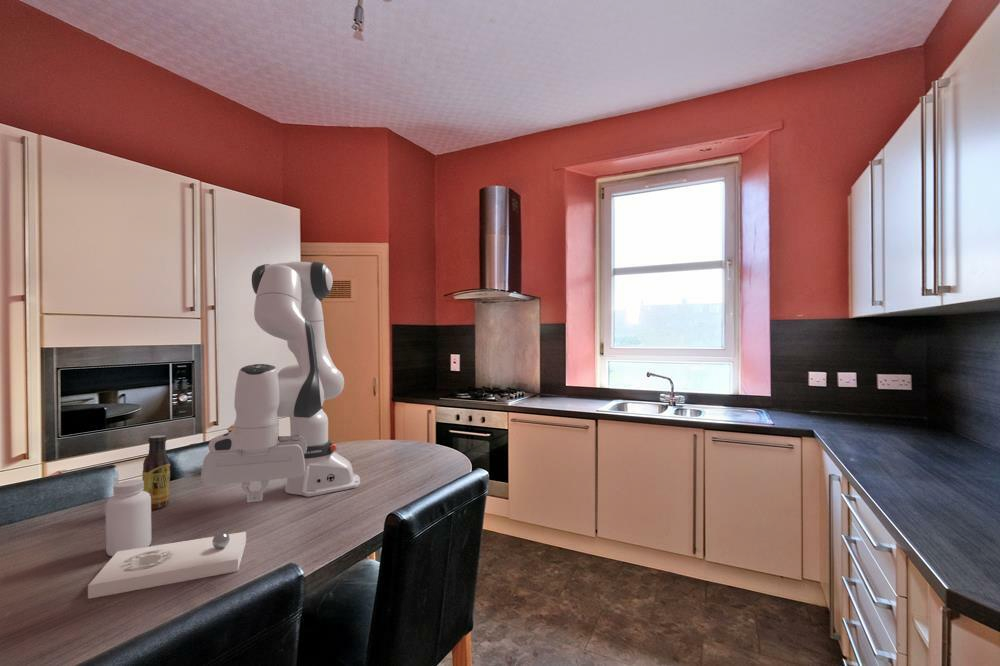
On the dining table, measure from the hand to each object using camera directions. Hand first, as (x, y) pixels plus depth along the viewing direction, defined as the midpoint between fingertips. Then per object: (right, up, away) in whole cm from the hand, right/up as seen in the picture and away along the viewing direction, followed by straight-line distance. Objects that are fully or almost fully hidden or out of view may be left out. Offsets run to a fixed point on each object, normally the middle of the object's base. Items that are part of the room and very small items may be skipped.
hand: (254, 500), depth 99 cm
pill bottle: (-30, -12, +3) cm, 32 cm away
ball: (-6, -8, -2) cm, 10 cm away
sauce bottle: (-43, -12, +27) cm, 52 cm away
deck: (-13, -12, -5) cm, 19 cm away
